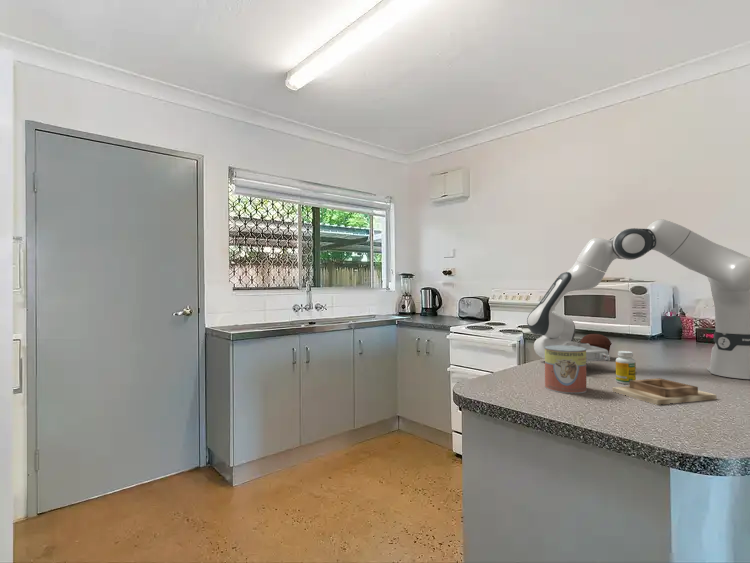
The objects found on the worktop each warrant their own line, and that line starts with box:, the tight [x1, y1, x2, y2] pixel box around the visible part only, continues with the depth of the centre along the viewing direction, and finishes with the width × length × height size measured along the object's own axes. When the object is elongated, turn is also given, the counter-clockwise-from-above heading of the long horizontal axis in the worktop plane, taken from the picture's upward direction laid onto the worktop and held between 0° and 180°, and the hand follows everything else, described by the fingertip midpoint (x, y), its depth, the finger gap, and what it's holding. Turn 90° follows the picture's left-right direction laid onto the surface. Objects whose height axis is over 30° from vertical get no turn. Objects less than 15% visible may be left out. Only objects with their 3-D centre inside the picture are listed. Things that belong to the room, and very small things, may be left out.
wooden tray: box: [611, 377, 718, 406], centre depth 116 cm, size 20×14×3 cm
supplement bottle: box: [615, 350, 637, 385], centre depth 132 cm, size 5×5×10 cm
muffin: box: [579, 333, 612, 354], centre depth 176 cm, size 12×11×10 cm
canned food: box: [544, 345, 588, 394], centre depth 124 cm, size 11×11×12 cm
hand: (596, 358), depth 143 cm, fingers open, 8 cm apart
